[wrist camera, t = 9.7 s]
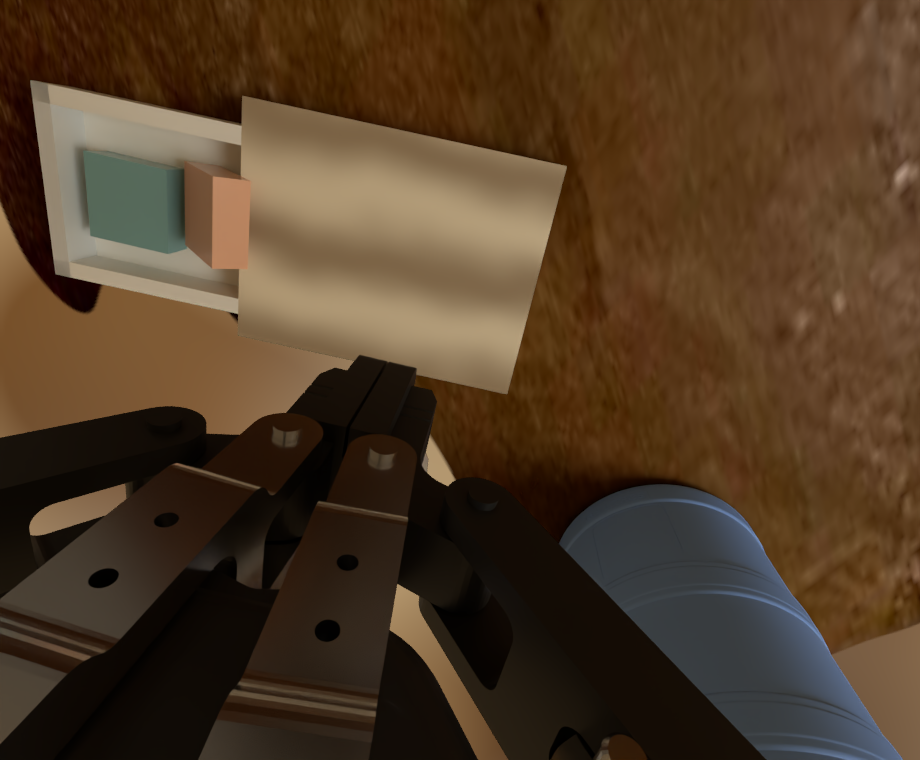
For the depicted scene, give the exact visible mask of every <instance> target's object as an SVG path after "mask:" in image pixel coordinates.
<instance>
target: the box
mask: <svg viewBox="0 0 920 760" xmlns="http://www.w3.org/2000/svg"><path fill="white" fill-rule="evenodd" d="M30 84H31V91H32V99H33V106H34V114H35V122H36V129H37V137H38V145H39V152H40V160H41V167H42V175H43V183H44V190H45V198H46V205H47V213H48V221H49V228H50V236H51V243H52V251H53V259H54V266H55V274H57V275H62V276H67V277H71V278H76V279H80V280H85V281H90V282H94V283H99V284H103V285H108V286H113V287H118V288H122V289H127V290H131V291H135V292H141V293H145V294H149V295H154V296H158V297H163V298H168V299H172V300H177V301H181V302H186V303H191V304H196V305H200V306H205V307H209V308H214V309H218V310H223V311H227V312H232V313H236V314H238V296H239V269H212V268H211V267H210V266H208V265H207V264H206V263H205V262H204V261H203V260H202V259H200V258H199V257H198V256H197V255H196V254H195V253H194V252H193V251H191V250H190V249H189V248H188V247H187V249H185V250H182V251H178V252H174V253H171V254H165V253H161V252H157V251H153V250H148V249H144V248H140V247H135V246H131V245H127V244H122V243H118V242H114V241H110V240H105V239H101V238H97V237H92V236H90V226H89V214H88V202H87V191H86V179H85V167H84V156H83V150H90V151H110V152H115V153H119V154H123V155H128V156H132V157H136V158H140V159H145V160H149V161H153V162H158V163H162V164H166V165H170V166H175V167H179V168H183V169H184V161H190V162H197V163H204V164H211V165H218V166H221V167H223V168H225V169H227V170H229V171H231V172H233V173H236V174H238V175H240V176H241V131H242V124H240V123H236V122H231V121H227V120H222V119H217V118H213V117H208V116H204V115H199V114H194V113H190V112H185V111H181V110H176V109H171V108H167V107H162V106H158V105H153V104H148V103H144V102H139V101H135V100H130V99H125V98H121V97H116V96H112V95H107V94H102V93H98V92H93V91H89V90H84V89H79V88H75V87H70V86H63V85H57V84H51V83H45V82H39V81H33V80H30Z"/></svg>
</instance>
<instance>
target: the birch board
mask: <svg viewBox="0 0 920 760" xmlns="http://www.w3.org/2000/svg"><path fill="white" fill-rule="evenodd" d="M566 168H567V166H563V165H559V164H554V163H550V162H545V161H540V160H536V159H531V158H527V157H522V156H517V155H513V154H508V153H504V152H499V151H494V150H490V149H485V148H481V147H476V146H471V145H467V144H462V143H458V142H453V141H448V140H444V139H439V138H435V137H430V136H425V135H421V134H416V133H412V132H407V131H402V130H398V129H393V128H389V127H384V126H379V125H375V124H370V123H366V122H361V121H356V120H352V119H347V118H343V117H338V116H333V115H329V114H324V113H320V112H315V111H310V110H306V109H301V108H297V107H292V106H287V105H283V104H278V103H274V102H269V101H264V100H260V99H255V98H251V97H246V96H242V131H241V176H242V177H244V178H246V179H248V180H250V181H251V193H250V219H249V246H248V269H239V296H238V336H242V337H247V338H251V339H256V340H260V341H265V342H270V343H274V344H279V345H283V346H288V347H293V348H298V349H302V350H307V351H311V352H315V353H320V354H325V355H329V356H334V357H339V358H343V359H348V360H352V361H355V360H356V358H357V357H358V356H359V355H364V356H368V357H372V358H376V359H381V360H385V361H388V362H394V363H398V364H402V365H406V366H411V367H415V368H417V372H416V375H421V376H425V377H430V378H435V379H439V380H444V381H448V382H453V383H458V384H462V385H467V386H471V387H476V388H481V389H485V390H490V391H494V392H499V393H503V394H507V392H508V389H509V385H510V381H511V377H512V373H513V370H514V366H515V362H516V358H517V354H518V351H519V347H520V343H521V339H522V335H523V331H524V328H525V324H526V320H527V316H528V312H529V309H530V305H531V301H532V297H533V293H534V290H535V286H536V282H537V278H538V274H539V271H540V267H541V263H542V259H543V255H544V252H545V248H546V244H547V240H548V236H549V233H550V229H551V225H552V221H553V217H554V213H555V210H556V206H557V202H558V198H559V194H560V191H561V187H562V183H563V179H564V175H565V172H566Z"/></svg>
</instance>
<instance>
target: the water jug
mask: <svg viewBox="0 0 920 760" xmlns="http://www.w3.org/2000/svg"><path fill="white" fill-rule="evenodd" d="M559 544H560V545H561V547H562V548H563V549H564V550H565V551H566V552H567V553H568V554H569V555H570V556H571V557H572V558H573V559H574V560H575V561H576V562H577V563H578V564H579V565H580V566H581V567H582V568H583V569H584V570H585V571H586V573H587V574H588V575H589V576H590V577H591V578H592V579H593V580H594V581H595V582H596V583H597V584H598V585H599V586H600V587H601V588H602V589H603V590H604V591H605V592H606V593H607V594H608V595H609V596H610V597H611V599H612V600H613V601H614V602H615V603H616V604H617V605H618V606H619V607H620V608H621V609H622V610H623V611H624V612H625V613H626V614H627V615H628V616H629V617H630V618H631V619H632V620H633V621H634V622H635V623H636V625H637V626H638V627H639V628H640V629H641V630H642V631H643V632H644V633H645V634H646V635H647V636H648V637H649V638H650V639H651V640H652V641H653V642H654V643H655V644H656V645H657V646H658V647H659V648H660V649H661V651H662V652H663V653H664V654H665V655H666V656H667V657H668V658H669V659H670V660H671V661H672V662H673V663H674V664H675V665H676V666H677V667H678V668H679V669H680V670H681V671H682V672H683V673H684V674H685V675H686V677H687V678H688V679H689V680H690V681H691V682H692V683H693V684H694V685H695V686H696V687H697V688H698V689H699V690H700V691H701V692H702V693H703V694H704V695H705V696H706V697H707V698H708V699H709V700H710V701H711V703H712V704H713V705H714V706H715V707H716V708H717V709H718V710H719V711H720V712H721V713H722V714H723V715H724V716H725V717H726V718H727V719H728V720H729V721H730V722H731V723H732V724H733V725H734V726H735V727H736V729H737V730H738V731H739V732H740V733H741V734H742V735H743V736H744V737H745V738H746V739H747V740H748V741H749V742H750V743H751V744H752V745H753V746H754V747H755V748H756V749H757V750H758V751H759V752H760V753H761V755H762V756H763V757H764V758H765V759H766V760H903V759H902V758H901V756H900V755H899V754H898V753H897V751H896V750H895V748H894V747H893V746H892V744H891V743H890V742H889V741H888V740H887V739H886V738H885V737H884V736H883V735H882V733H881V731H880V730H879V728H878V727H877V725H876V724H875V722H874V721H873V719H872V717H871V716H870V714H869V713H868V711H867V710H866V708H865V706H864V705H863V703H862V702H861V700H860V699H859V697H858V696H857V694H856V693H855V691H854V690H853V688H852V687H851V685H850V683H849V682H848V680H847V679H846V677H845V676H844V674H843V673H842V671H841V670H840V668H839V666H838V665H837V664H836V662H835V660H834V659H833V657H832V656H831V654H830V652H829V649H828V647H827V645H826V643H825V641H824V639H823V637H822V636H821V634H820V632H819V631H818V629H817V628H816V626H815V625H814V623H813V622H812V620H811V618H810V617H809V615H808V614H807V612H806V611H805V610H804V608H803V607H802V606H801V605H800V603H799V602H798V601H797V600H796V599H795V597H794V596H793V595H792V594H791V593H790V591H789V589H788V588H787V586H786V585H785V583H784V582H783V580H782V579H781V577H780V576H779V574H778V573H777V571H776V569H775V568H774V566H773V565H772V563H771V562H770V560H769V559H768V557H767V556H766V554H765V551H764V549H763V547H762V545H761V543H760V541H759V539H758V538H757V536H756V535H755V533H754V532H753V530H752V529H751V527H750V526H749V524H748V523H747V521H746V520H745V519H744V518H743V517H742V516H741V515H740V514H739V513H738V512H737V511H736V510H735V509H734V508H733V507H731V506H730V505H729V504H727V503H726V502H724V501H722V500H721V499H719V498H717V497H715V496H713V495H711V494H709V493H706V492H704V491H701V490H697V489H694V488H690V487H685V486H679V485H669V484H654V485H643V486H637V487H632V488H628V489H625V490H621V491H618V492H615V493H613V494H611V495H608V496H606V497H604V498H602V499H600V500H598V501H597V502H595V503H593V504H592V505H590V506H589V507H588V508H586V509H585V510H584V511H583V512H581V513H580V514H579V515H578V516H577V517H576V518H575V519H574V520H573V522H572V523H571V524H570V525H569V527H568V528H567V529H566V531H565V533H564V534H563V536H562V538H561V540H560V542H559Z"/></svg>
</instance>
